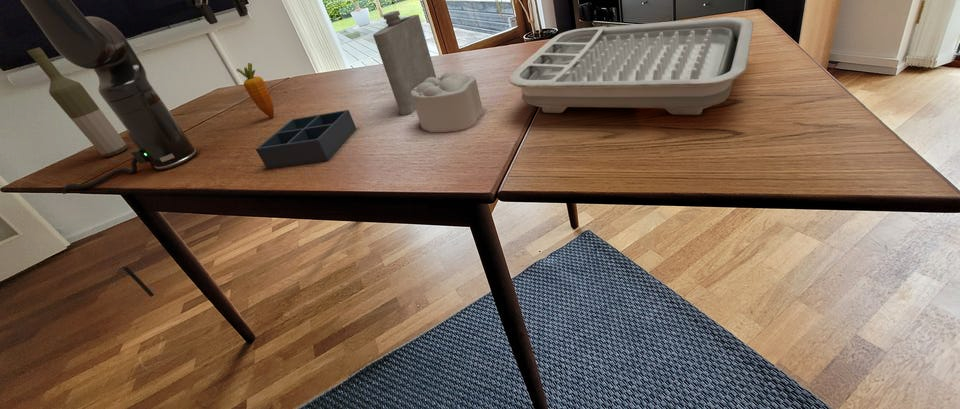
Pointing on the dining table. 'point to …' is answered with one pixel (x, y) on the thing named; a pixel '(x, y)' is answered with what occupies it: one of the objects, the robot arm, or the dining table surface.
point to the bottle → (80, 108)
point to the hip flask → (404, 57)
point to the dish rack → (638, 66)
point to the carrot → (258, 91)
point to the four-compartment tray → (307, 140)
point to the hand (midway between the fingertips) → (229, 19)
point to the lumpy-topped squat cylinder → (447, 102)
